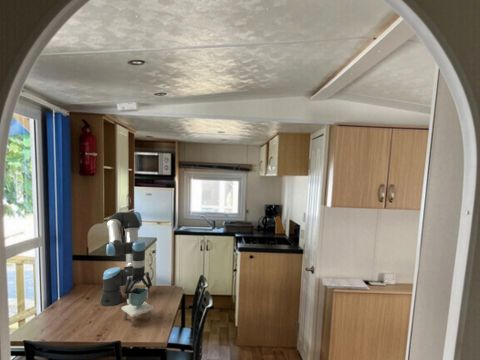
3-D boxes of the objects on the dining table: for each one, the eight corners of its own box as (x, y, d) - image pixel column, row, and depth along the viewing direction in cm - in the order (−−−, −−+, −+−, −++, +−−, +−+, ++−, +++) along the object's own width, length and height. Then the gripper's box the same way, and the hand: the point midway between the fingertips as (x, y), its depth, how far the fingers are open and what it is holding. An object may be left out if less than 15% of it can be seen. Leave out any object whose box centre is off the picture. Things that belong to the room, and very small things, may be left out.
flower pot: (140, 308, 174) (140, 294, 174) (127, 307, 176) (127, 292, 176) (147, 302, 183) (148, 288, 183) (135, 301, 184) (135, 287, 184)
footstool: (121, 319, 179) (121, 307, 179) (141, 312, 189) (142, 300, 189) (132, 327, 169) (132, 314, 169) (153, 319, 180) (153, 307, 180)
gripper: (123, 272, 168) (122, 308, 168) (158, 263, 185) (157, 296, 186) (117, 269, 173) (116, 304, 173) (152, 261, 190) (151, 293, 191)
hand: (137, 300), depth 179 cm, fingers closed on flower pot, 11 cm apart
